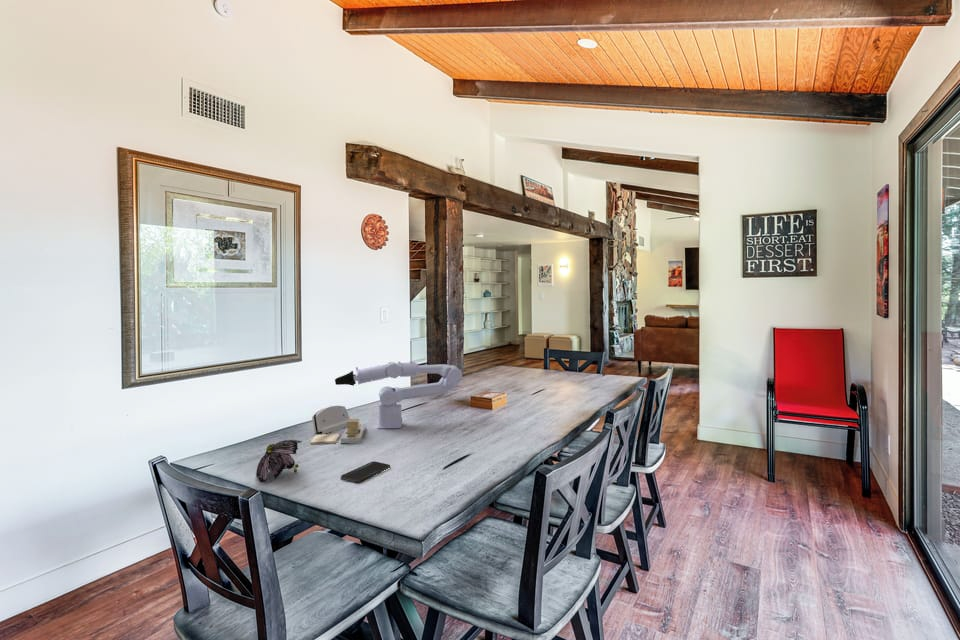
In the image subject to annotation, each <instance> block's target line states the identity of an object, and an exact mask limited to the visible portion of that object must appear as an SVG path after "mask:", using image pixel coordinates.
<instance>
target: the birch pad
mask: <svg viewBox="0 0 960 640" xmlns="http://www.w3.org/2000/svg"><path fill="white" fill-rule="evenodd" d="M340 434H341V433H328V434H315V435H314V437H312V439H311V441H310V445H322V444H321V443H330V444H336V443H337V442H338V440H339V438H340V436H341V435H340Z"/></svg>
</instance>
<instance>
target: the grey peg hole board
mask: <svg viewBox="0 0 960 640" xmlns="http://www.w3.org/2000/svg"><path fill="white" fill-rule="evenodd" d="M359 426H360V433H357V434H347V427H345V430H344V432H343V434H342V435H341V437H340V444H341V443H350V444H361V442H362V440H363V437H364V435H365V433H364V432H366V430H367V424H366V423H364V424H363V423H362V424H360V423H359Z"/></svg>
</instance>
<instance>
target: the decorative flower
mask: <svg viewBox="0 0 960 640" xmlns="http://www.w3.org/2000/svg"><path fill="white" fill-rule="evenodd" d="M302 442H303V441H302V440H297V439H286V440H285V439H284V440H282V441H279V442H278V441H277V442H276V443H272V444H271V443H270V444H269V445H268V446H267V447H266V450H265V453H264V455H262V457H261V458H260V460H259V462H258V463H257V464H258V465H257V467H256V472H255V473H256V474H255V477H256V478H257V479H258V482H259V481H260V483H262V482H264V483H265V482H266V481H267V478H268V473H270V474H271V476H272V477H273V478H274V479H277V478H278V477H280V475H281V474H282V472H284V470H291V469H293V473H297V472H298V468H299V464H298V463H296V462H295V460H294V458H293V457H292V455H296V454H297V450H299V448H298V447H299V445H298V443H299V444H300V443H302Z"/></svg>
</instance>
